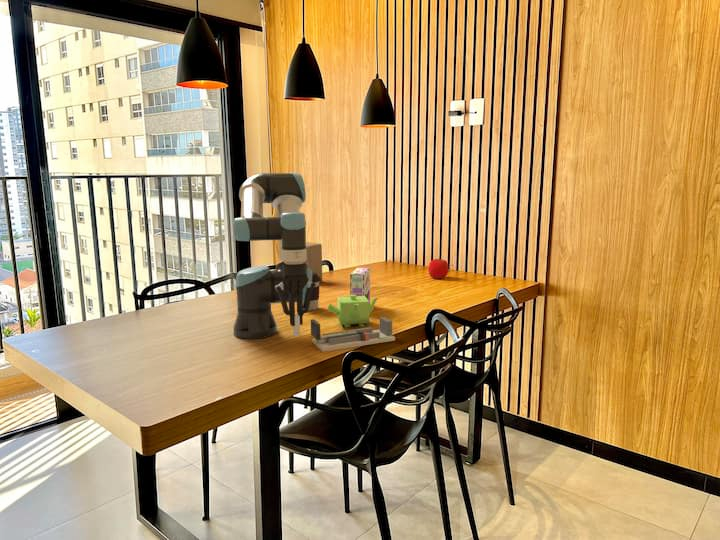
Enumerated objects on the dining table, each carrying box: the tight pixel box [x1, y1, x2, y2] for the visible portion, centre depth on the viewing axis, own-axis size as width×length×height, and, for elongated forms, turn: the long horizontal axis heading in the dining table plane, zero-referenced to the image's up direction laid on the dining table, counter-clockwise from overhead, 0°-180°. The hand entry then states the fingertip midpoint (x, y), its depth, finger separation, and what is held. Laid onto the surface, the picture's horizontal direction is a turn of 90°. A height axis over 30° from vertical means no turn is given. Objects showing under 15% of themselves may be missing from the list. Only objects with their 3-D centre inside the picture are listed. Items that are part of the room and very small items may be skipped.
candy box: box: [349, 267, 371, 304], centre depth 213 cm, size 14×6×16 cm, turn 168°
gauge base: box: [312, 316, 396, 352], centre depth 174 cm, size 26×10×6 cm, turn 114°
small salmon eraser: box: [364, 332, 369, 340], centre depth 171 cm, size 1×1×2 cm
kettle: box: [327, 295, 381, 328], centre depth 193 cm, size 15×14×11 cm
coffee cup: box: [303, 272, 322, 311], centre depth 215 cm, size 10×10×15 cm
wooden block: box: [305, 241, 323, 283], centre depth 266 cm, size 10×10×20 cm
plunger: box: [310, 318, 363, 343], centre depth 170 cm, size 16×8×7 cm, turn 114°
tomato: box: [428, 258, 450, 280], centre depth 274 cm, size 10×11×11 cm
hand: (296, 334), depth 165 cm, fingers closed
